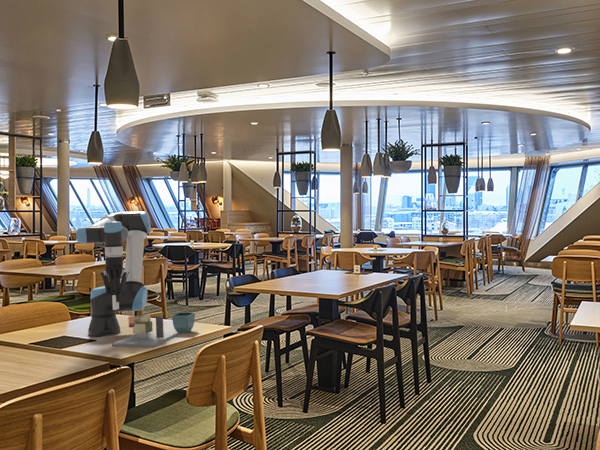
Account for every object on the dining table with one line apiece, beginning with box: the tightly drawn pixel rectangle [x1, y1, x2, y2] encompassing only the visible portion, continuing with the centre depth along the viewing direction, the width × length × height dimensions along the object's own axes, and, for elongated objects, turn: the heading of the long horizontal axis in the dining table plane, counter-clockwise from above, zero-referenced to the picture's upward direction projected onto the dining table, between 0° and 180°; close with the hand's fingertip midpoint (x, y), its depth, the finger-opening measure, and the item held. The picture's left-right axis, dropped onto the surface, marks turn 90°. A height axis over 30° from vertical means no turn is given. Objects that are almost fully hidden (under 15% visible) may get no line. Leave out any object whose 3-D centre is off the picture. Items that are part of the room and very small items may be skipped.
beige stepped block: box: [127, 314, 154, 335], centre depth 252 cm, size 14×7×9 cm, turn 167°
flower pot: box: [171, 311, 196, 334], centre depth 273 cm, size 9×9×9 cm
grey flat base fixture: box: [111, 315, 177, 348], centre depth 256 cm, size 20×22×11 cm
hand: (115, 309), depth 247 cm, fingers closed
